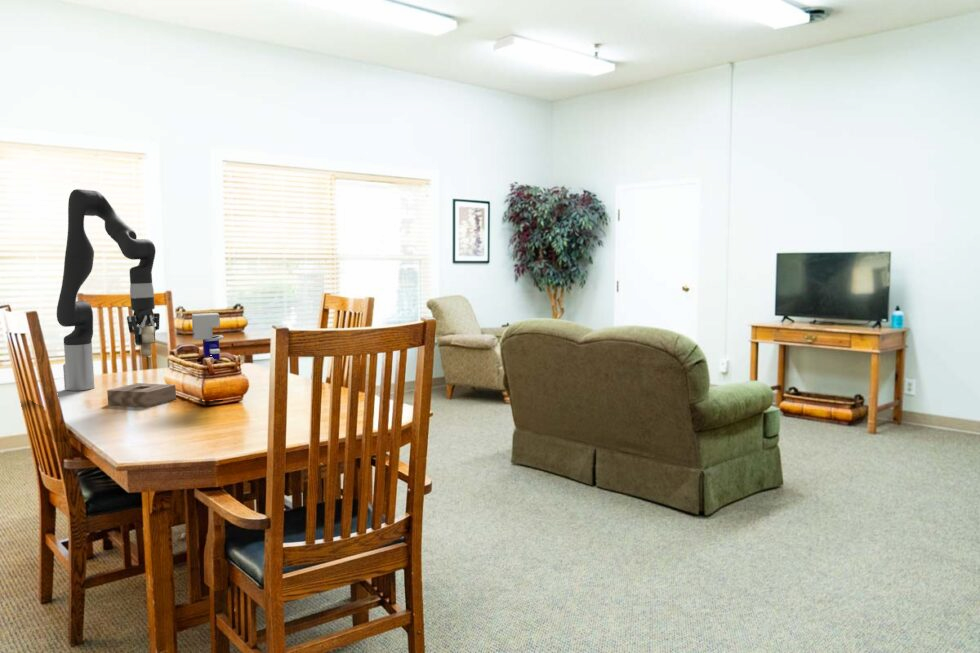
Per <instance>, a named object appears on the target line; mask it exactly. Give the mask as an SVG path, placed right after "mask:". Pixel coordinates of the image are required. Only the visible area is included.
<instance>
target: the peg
mask: <svg viewBox="0 0 980 653" xmlns="http://www.w3.org/2000/svg"><path fill="white" fill-rule="evenodd" d="M137 330H139V328H137ZM141 334H142V345H140V354H141V357H151V356H152V345H151V344H155V343H156V340H155V341H154V326H144V328H142V332H141Z"/></svg>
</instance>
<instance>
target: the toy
mask: <svg viewBox="0 0 980 653" xmlns="http://www.w3.org/2000/svg"><path fill="white" fill-rule="evenodd" d="M191 322H192V323H191V324H192V338H193V340H194V341H202V350H203V351H202V352H203V353H202V354H204V356H203V358H204V357H206V356H209V357H213V358H214V359H220V357H221V356H220V355H221V349H220V340H221V339H223V338H224V337H225V336H223V334H220V335H219V334H216V335H214V334H213V333H214V328H216V327H217V328H220V327H221V320H220V314H219V313H218V312H206V313H205V312H204V313H200V312H199V313H192V314H191ZM210 355H212V356H210Z"/></svg>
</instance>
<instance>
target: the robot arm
mask: <svg viewBox="0 0 980 653" xmlns="http://www.w3.org/2000/svg"><path fill="white" fill-rule="evenodd" d="M67 207H68V208H67V239H66V248H65V254H64V263H63V265H64V266H63V276H62V282H61V289H60V293H59V298H58V302H57V306H56V319H57V322H58V324H59V325H60V326H61V327H63V328H64V327H69V328H70V327H74V329H73V330H72V332H70V333H68V334H67V335H65V336H64V337H63V350H64V364H63V365H62V367H63V368H62V369H63V381H64V383H63V384H64V390H67V391H72V392H74V391H88V390H91V389H92V390H93V389H94V388H95V373H94V370H95V369H94V359H93V358H94V356H93V355H94V354H93V335H94V312H93V308H92V306H91V304H90V303H89V302H88V301H85V300H77V296H78V292H79V291H80V288H81V286H83V284H84V283H85V281H86V280H87V279H88V277H89V276H90V274H92V273H91V272H92V271H93V267H94V266H93V265H94V257H95V251H94V247H93V246H92V243H91V242H90V239H89V237H88V236H87V233H86V230H85V216H88V217H89V216H90V217H95V216H96V217H97V218H100V219H101V220H102V221H104V229H105V232H106V233H107V235H108V236H109V237H110V238H111V239H112V240H113V241H114V242H115V243H117V245H118V247H119V249H120V251H121V253H122V255H123V256H124V257H125V258H126V259H129V260H134V261H135V260H139V263H138V265H135V266H132V267H130V269H129V281H130V282H129V283H130V286H129V287H130V288H129V294H130V295H129V296H130V308H131V310H132V311H133V315H129V316H128V315H127V316H126V320H127V322H126V323H127V327H128V332H129V333H130V334H133V335H134V343H135V345H136V346H141V345H142V334H141V332H142V328H144V326H154V341H155V342H156V331H158V330H159V329H160V316H161V315H160V313H159V312H154V311H153V310H155V309H156V308H155V307H156V306H155V294H154V292H155V291H154V286H153V285H154V284H153V276H152V274H153V272H152V271H153V268H154V262H155V257H156V247H155V244H154V242H153V241H151V239H145V238H144V239H143V238H142V239H141V238H140V239H139V238H138V239H137V233H136V232H135V230H133V229H132V228H131V227H130V226H129V225H128V224H127V223H126V222H125V221H124V220H123V219H122V218H121V217H120V215H118V213H117V212H116V210H115V209H114V207H113V206H112V205H111V204H110V202H109V200H108V199H107V198H106V197H105V195H103V194H102V193H101V192H100V191H97V190H92V189H91V190H90V189H80V188H79V189H74V190H72V191H71V192H70V194H69V197H68V206H67ZM137 328H139V330H137Z"/></svg>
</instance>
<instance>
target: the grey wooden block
mask: <svg viewBox="0 0 980 653" xmlns="http://www.w3.org/2000/svg"><path fill="white" fill-rule="evenodd" d="M106 392H107V393H106V394H107V405H109V406H123V407H124V406H125V407H135V408H136V407H139V408H140V407H141V408H142V407H143V408H149V407H153V406H156V405H160V404H163V403H167V402H171V401H173V399H174V400H177V395H176V394H177V393H176V384H165V383H163V384H162V383H161V384H160V383H144V382H143V383H140V382H136V383H133V384H132V383H131V384H127V385H124V386H119V387H114V388H111V389H107V390H106Z"/></svg>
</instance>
